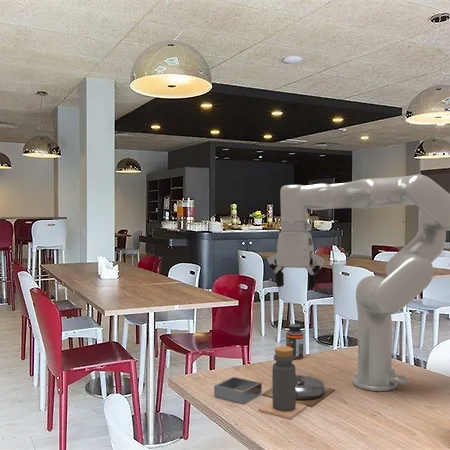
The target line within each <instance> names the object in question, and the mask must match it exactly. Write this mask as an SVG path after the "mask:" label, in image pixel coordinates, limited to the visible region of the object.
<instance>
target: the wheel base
mask: <svg viewBox="0 0 450 450" xmlns="http://www.w3.org/2000/svg"><path fill="white" fill-rule="evenodd" d="M335 391H336V389H335V388H330V387H325V386H324V394H323V395H322V396H321V397H318V398H315V399H308V400H297V399H296V403H299V404H303V405H307V407H308V408H309V407H310V408H313V407H314V406H316V405H318V404H319V403H320V402H321V401H323V400H324V399H326V398H327V397H328V396H330V395H331V394H332V393H334V392H335ZM261 396H263V397H266V398H270V399H273V387H271V388H269V389H267V391H265V392H262V394H261Z"/></svg>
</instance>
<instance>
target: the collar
mask: <svg viewBox="0 0 450 450" xmlns="http://www.w3.org/2000/svg"><path fill="white" fill-rule="evenodd" d="M213 390H214V391H213V397H214V398H218V399H221V400H226V401H229V402H234V403H238V404H241V405H244V404H246V403H248V402H249V401H251V400H253V399H254V398H257V397H258V396H259V395H262V394H263V392H262V390H263V389H262V382H259V381H254V380H249V379H246V378H242V377H236V376H232V377H230V378H228V379H226V380H224V381H222V382H220V383H217V384H215V385H214V386H213Z"/></svg>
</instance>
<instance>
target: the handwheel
mask: <svg viewBox="0 0 450 450" xmlns="http://www.w3.org/2000/svg"><path fill="white" fill-rule="evenodd" d="M324 387H325V383H324V381H322V380H321V379H319V378H316V377H312V376H309V375H297V374H296V399H297V400H308V399H315V398H318V397H321V396H322V395H323V394H324Z"/></svg>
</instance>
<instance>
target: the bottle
mask: <svg viewBox="0 0 450 450" xmlns="http://www.w3.org/2000/svg"><path fill="white" fill-rule="evenodd" d="M292 353H293V348H291V347H286V345H285V346H284V345H282V346H281V345H280V346H276V347H274V354H273V360H274V361H275V363H273V364H272V376H271V377H272V388H273V398H272V400H273V408H274V409H276V410H279V411H291V410H294V409H295V407H296V375H297V374H296V372H297V371H296V365H295V364H294V363H293V362H294V361H295V359H294V355H292Z"/></svg>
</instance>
